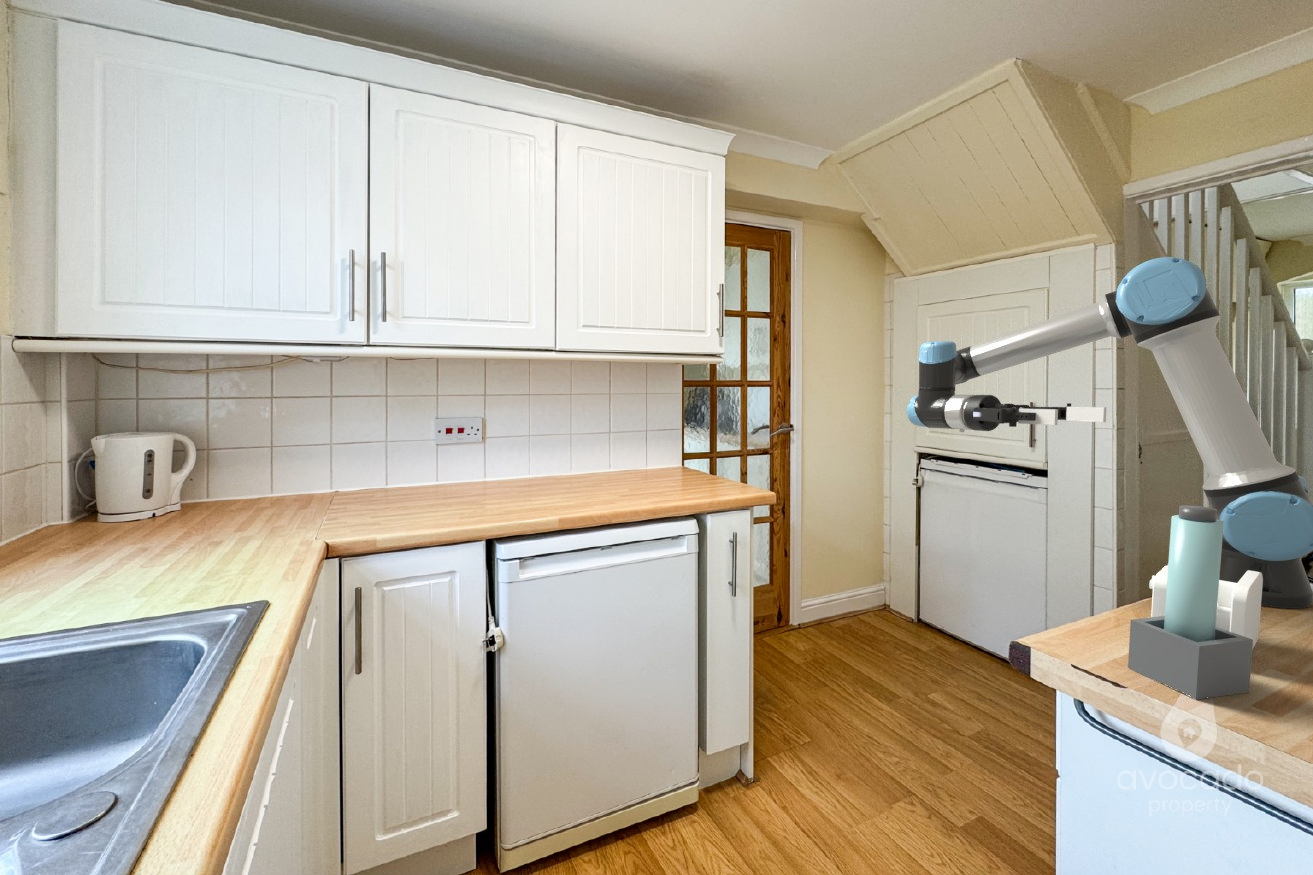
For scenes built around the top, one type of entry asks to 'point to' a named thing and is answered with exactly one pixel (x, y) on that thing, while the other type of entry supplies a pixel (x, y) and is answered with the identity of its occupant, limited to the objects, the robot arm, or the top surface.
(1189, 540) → the teal bottle
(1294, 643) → the top surface
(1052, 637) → the top surface
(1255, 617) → the white piece
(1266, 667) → the top surface
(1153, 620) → the block
